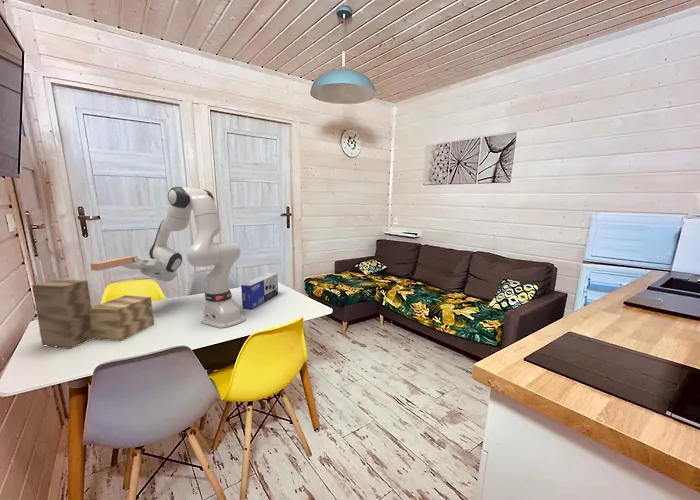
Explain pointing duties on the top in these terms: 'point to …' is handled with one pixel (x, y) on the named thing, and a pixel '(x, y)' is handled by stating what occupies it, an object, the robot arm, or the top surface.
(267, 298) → the ink box
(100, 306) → the brown wooden stepped block
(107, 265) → the long slim case
